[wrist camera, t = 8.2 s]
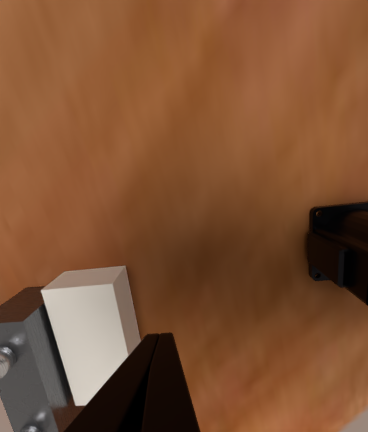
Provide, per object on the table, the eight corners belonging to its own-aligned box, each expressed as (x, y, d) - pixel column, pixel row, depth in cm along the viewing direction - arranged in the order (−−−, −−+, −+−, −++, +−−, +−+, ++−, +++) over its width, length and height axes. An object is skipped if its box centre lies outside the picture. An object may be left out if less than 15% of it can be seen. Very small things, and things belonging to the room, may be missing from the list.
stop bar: (64, 284, 20) (11, 331, 14) (94, 398, 23) (60, 475, 17) (25, 287, 21) (-42, 335, 15) (59, 399, 24) (15, 476, 18)
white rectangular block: (126, 264, 20) (112, 283, 16) (147, 367, 22) (138, 403, 19) (66, 269, 20) (40, 290, 17) (93, 370, 23) (75, 405, 19)
